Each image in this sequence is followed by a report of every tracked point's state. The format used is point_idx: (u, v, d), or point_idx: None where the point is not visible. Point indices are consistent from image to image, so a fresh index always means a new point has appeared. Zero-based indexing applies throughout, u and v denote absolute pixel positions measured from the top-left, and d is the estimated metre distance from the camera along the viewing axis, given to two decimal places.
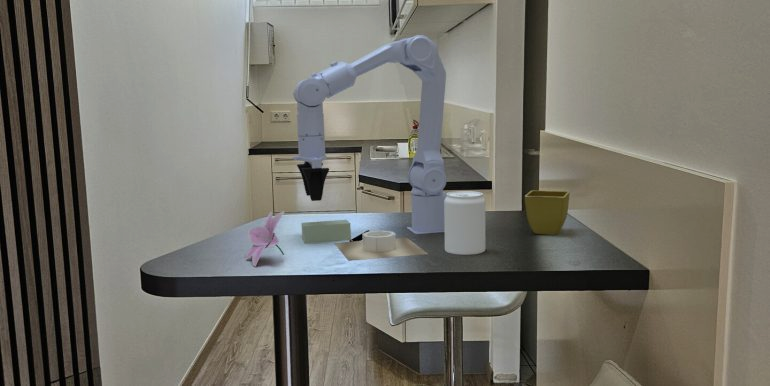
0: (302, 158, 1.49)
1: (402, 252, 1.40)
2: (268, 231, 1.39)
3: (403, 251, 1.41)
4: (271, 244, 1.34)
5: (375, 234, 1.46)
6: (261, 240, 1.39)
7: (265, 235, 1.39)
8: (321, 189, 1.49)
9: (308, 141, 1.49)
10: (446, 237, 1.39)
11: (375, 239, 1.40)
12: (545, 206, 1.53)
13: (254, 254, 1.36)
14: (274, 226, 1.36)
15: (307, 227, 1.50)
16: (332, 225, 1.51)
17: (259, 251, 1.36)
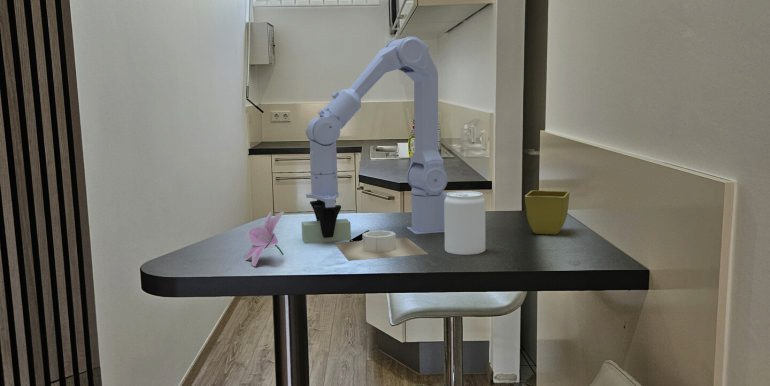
0: (315, 196, 1.49)
1: (402, 252, 1.40)
2: (267, 231, 1.39)
3: (403, 251, 1.41)
4: (271, 244, 1.34)
5: (375, 234, 1.46)
6: (260, 240, 1.39)
7: (264, 235, 1.39)
8: (333, 226, 1.50)
9: (321, 179, 1.49)
10: (446, 237, 1.39)
11: (375, 239, 1.40)
12: (545, 206, 1.53)
13: (253, 254, 1.36)
14: (273, 226, 1.36)
15: (307, 226, 1.50)
16: None
17: (259, 251, 1.35)
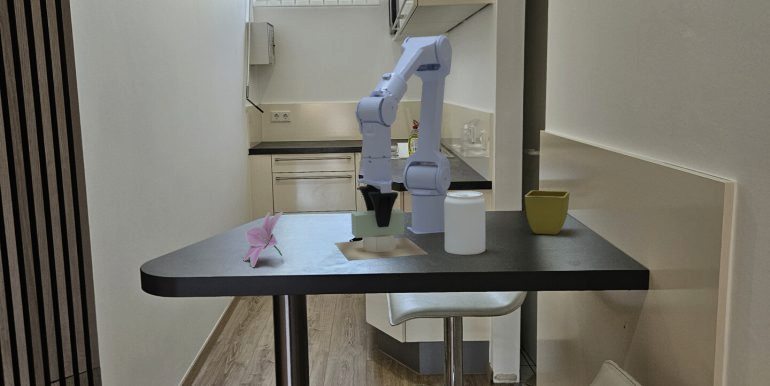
0: (368, 181, 1.39)
1: (402, 252, 1.40)
2: (266, 232, 1.39)
3: (403, 251, 1.41)
4: (269, 245, 1.34)
5: None
6: (259, 241, 1.39)
7: (263, 236, 1.39)
8: (389, 215, 1.39)
9: (375, 163, 1.39)
10: (446, 237, 1.39)
11: (375, 239, 1.40)
12: (545, 206, 1.53)
13: (252, 255, 1.36)
14: (272, 227, 1.35)
15: (358, 216, 1.40)
16: None
17: (257, 252, 1.35)
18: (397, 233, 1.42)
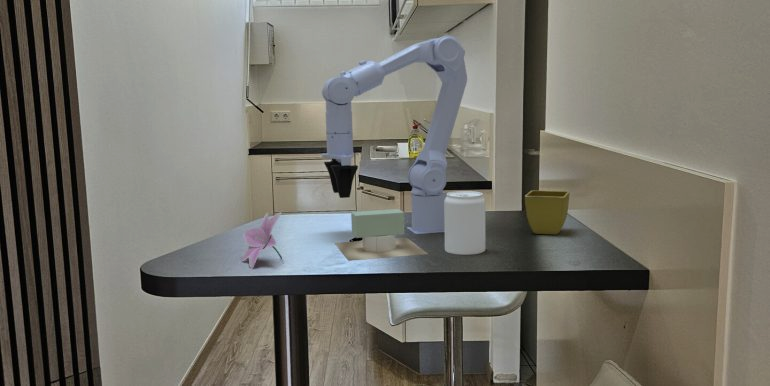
0: (331, 155, 1.51)
1: (402, 252, 1.40)
2: (264, 232, 1.38)
3: (403, 251, 1.41)
4: (268, 245, 1.33)
5: None
6: (257, 241, 1.38)
7: (261, 236, 1.38)
8: (350, 186, 1.50)
9: (337, 138, 1.50)
10: (446, 237, 1.39)
11: (375, 239, 1.40)
12: (545, 206, 1.53)
13: (251, 256, 1.35)
14: (271, 227, 1.35)
15: (358, 216, 1.40)
16: (385, 214, 1.41)
17: (256, 253, 1.34)
18: (397, 233, 1.42)
